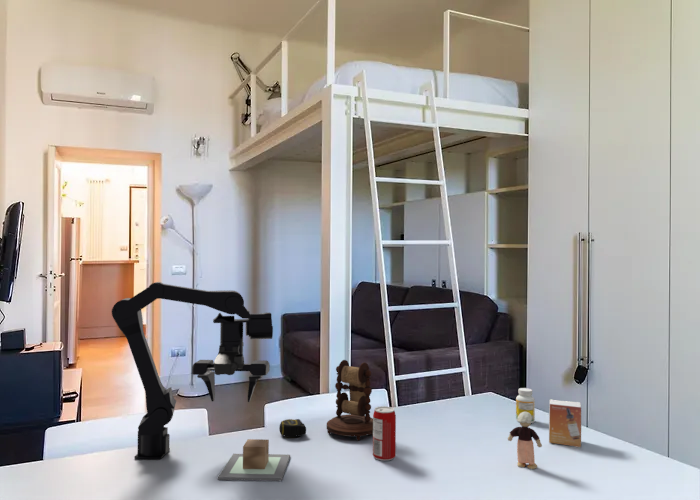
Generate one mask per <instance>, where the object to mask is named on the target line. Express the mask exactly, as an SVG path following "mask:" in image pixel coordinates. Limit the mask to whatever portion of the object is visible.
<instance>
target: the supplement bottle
mask: <svg viewBox="0 0 700 500" xmlns="http://www.w3.org/2000/svg"><path fill="white" fill-rule="evenodd" d="M517 392H518V395H517V396H516V398H515V420H516V421H517V420H518V419H517V418H518V416H519V414H520V413H522V412H529V413H530V414H531V417H532V420H531V423H532V424H534V423H535V422H536V421H535V420H536V418H535V417H536V416H535V415H536V413H535V411H536V409H535V408H536V407H535V405H536V404H535V402H536V401H535V397H534V396H533V389H531V388H528V387H520V388H518V391H517Z"/></svg>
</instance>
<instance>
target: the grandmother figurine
mask: <svg viewBox="0 0 700 500" xmlns="http://www.w3.org/2000/svg"><path fill="white" fill-rule="evenodd" d="M517 419H518V420H516V422H517V423H519V425H520V426H516V427H515V428H513V429H512V430H511V431H509V435H508V437H507V440H508V441H509V442H512V440H513V438H515V437H518V438H517V443H516V444H517V445H516V455H517V461H518V462H517V467H518V468H525V467H527V469H530V470H535V469H538V465H537V464H536V463H535V459H536V458H535V449H534V446H535V445H534V441H535V443H536V445H537V447H538V448H542V447H543V445H542V442H541V440H540V436H539V435H538V433H537V432H536V431H535V430H534V429H533V428H531V427H530V426H531V420H532V417H531V414H530V413H529V412H522V413H520V414H519V416H518V418H517ZM533 440H534V441H533Z"/></svg>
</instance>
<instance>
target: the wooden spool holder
mask: <svg viewBox="0 0 700 500" xmlns="http://www.w3.org/2000/svg"><path fill="white" fill-rule="evenodd" d="M335 371H336V372H337V373H336V375H337V377H336V383H335V384H334V387H335V390H336V391H337V393H336V398H337V399H335V404H336V411H335V414H336V416H335V417H332V418H331V419H329V420H327V422H326V430H327V434H328V433H329V434H328V435H331V434H334V435H338V436H343V437H344V436H345V437H355V439H356V441H357V442H359V441H360V440H361V437H363V436H369V435H373V417H371V415H370V413H371V411H370V410H371V409H372V405H371V404H370V403H371V397H370V396H371V394H372V392H373V389H372V387H371V386H372V384H371V376H372V371H371V370H370V367H369V365H368V363H367V362H365V361H364V362H362V363H361V364H360V365H359V367H358V366H351V365H350V364H349V362H348V360H347V359H343V360H341V362H340V363H339V364H338V366H336V368H335ZM345 383H346V384H345ZM342 390H348V391H349V395H348V393H347V392H344V391H343V392H341V391H342ZM342 413H344V414H342ZM330 433H331V434H330Z"/></svg>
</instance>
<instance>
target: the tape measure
mask: <svg viewBox="0 0 700 500" xmlns="http://www.w3.org/2000/svg"><path fill="white" fill-rule="evenodd" d="M279 433H280V435H282V437H287V438H296V437H300V436H304V435H306V433H307V427H306V426H305V424H304V423H303V422H302V420H301V419H299V418H298V419H297V418H296V419H292V418H291V419H290V418H289V419H284V420H281V422H280V423H279Z"/></svg>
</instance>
